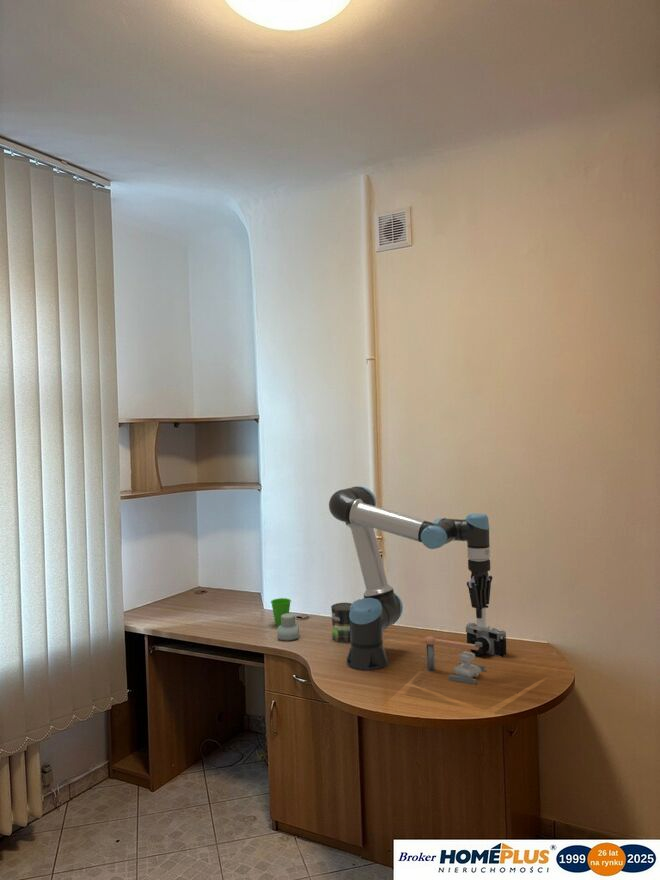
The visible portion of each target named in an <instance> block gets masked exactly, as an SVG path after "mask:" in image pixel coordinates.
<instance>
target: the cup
mask: <svg viewBox="0 0 660 880" xmlns="http://www.w3.org/2000/svg"><path fill="white" fill-rule="evenodd" d="M270 603H271V607H272V612H273V618H274V623H275V626H276V627H277V628H278V627H279V626H280V625H281V615H283V614H286V613H290V610H291V603H292V600H291V599H290V598H286V597H281V598H280V597H279V598H274V599H272V600H271V601H270Z"/></svg>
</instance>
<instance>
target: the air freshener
mask: <svg viewBox="0 0 660 880" xmlns="http://www.w3.org/2000/svg"><path fill="white" fill-rule="evenodd" d="M299 637H300V626H299V625H298V624H297V623H296V614H294V613H290V612H289V613H286V614H283V615H281V625H280V626H279V627H278V626H277V638H278V640H280V641H284V640H285V641H287V642H289V641H295V640H297V639H299Z"/></svg>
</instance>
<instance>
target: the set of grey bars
mask: <svg viewBox="0 0 660 880" xmlns="http://www.w3.org/2000/svg"><path fill="white" fill-rule="evenodd" d="M426 663H427V664H426V665H427V666H426V667H425V669H427V671H429V672H434V671H435V669H436V667H435V666H436V665H435V664H436V663H435V644H434V645H428V644H426ZM461 664H463V661H459V662H458V666H459V665H461ZM471 664H472V665H475V666H478V667H480V669H481V671H480V672H485V671H486V666H485V665H482V664H481V665H480V664H475V663H471ZM448 681H454V682H459V683H465V684H470V685H477V679H476V678H474V677H473V678H467V677H461V676H457V675H456V674H454V675H453V674H449V675H448Z"/></svg>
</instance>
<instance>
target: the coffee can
mask: <svg viewBox="0 0 660 880" xmlns="http://www.w3.org/2000/svg"><path fill="white" fill-rule="evenodd" d="M352 603H353V602H351V603H350V602H337V603H334V604H332V605H331V606H330V608H331V635H332V636H331V637H332V639H331V640H332V641H333V642H337V643H345V644H346V643H351V640H350V618H349V613H350V606H351V604H352Z"/></svg>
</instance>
